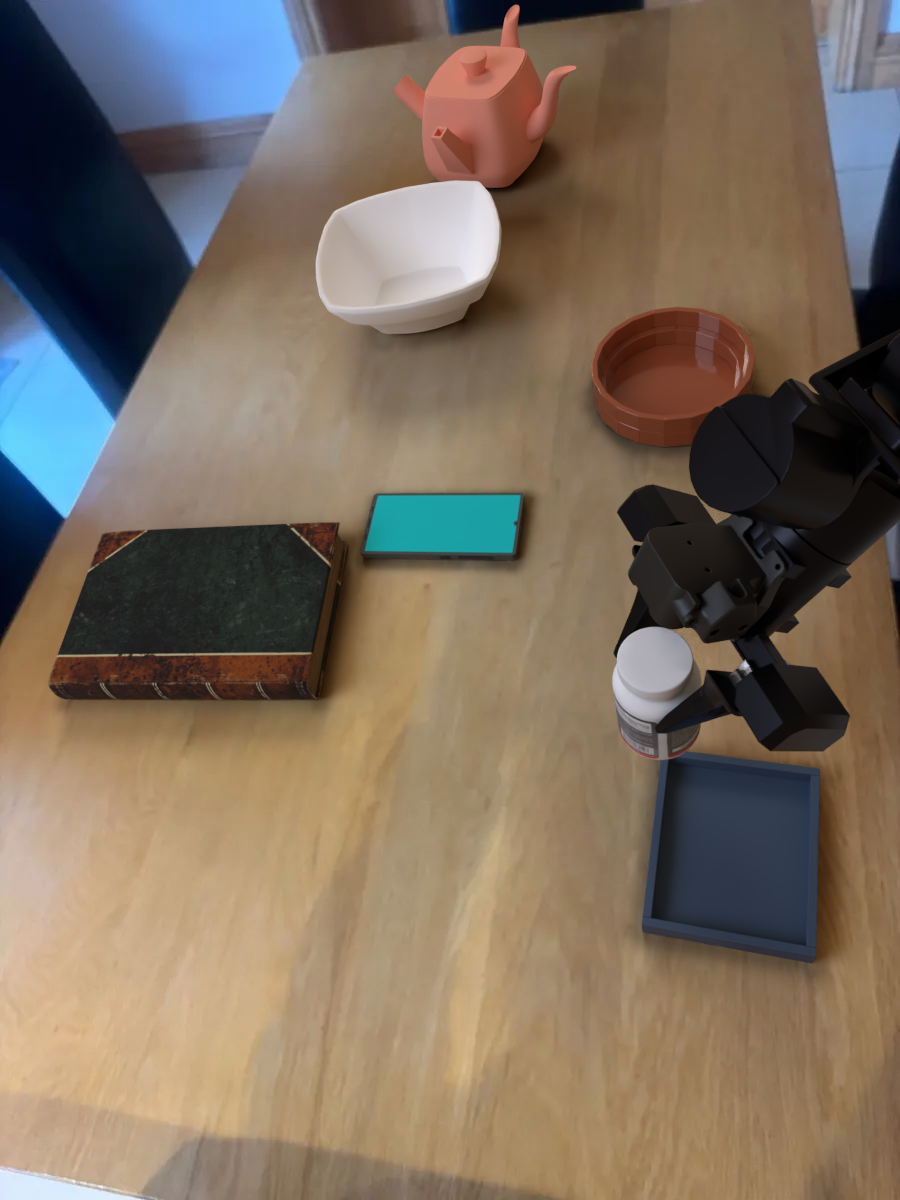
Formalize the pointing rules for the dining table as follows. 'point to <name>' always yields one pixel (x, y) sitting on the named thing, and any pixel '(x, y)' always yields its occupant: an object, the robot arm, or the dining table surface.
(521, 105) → the teapot
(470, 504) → the smartphone
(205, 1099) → the dining table surface
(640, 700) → the pill bottle
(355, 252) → the bowl
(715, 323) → the terracotta bowl
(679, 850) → the tray
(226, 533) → the book
